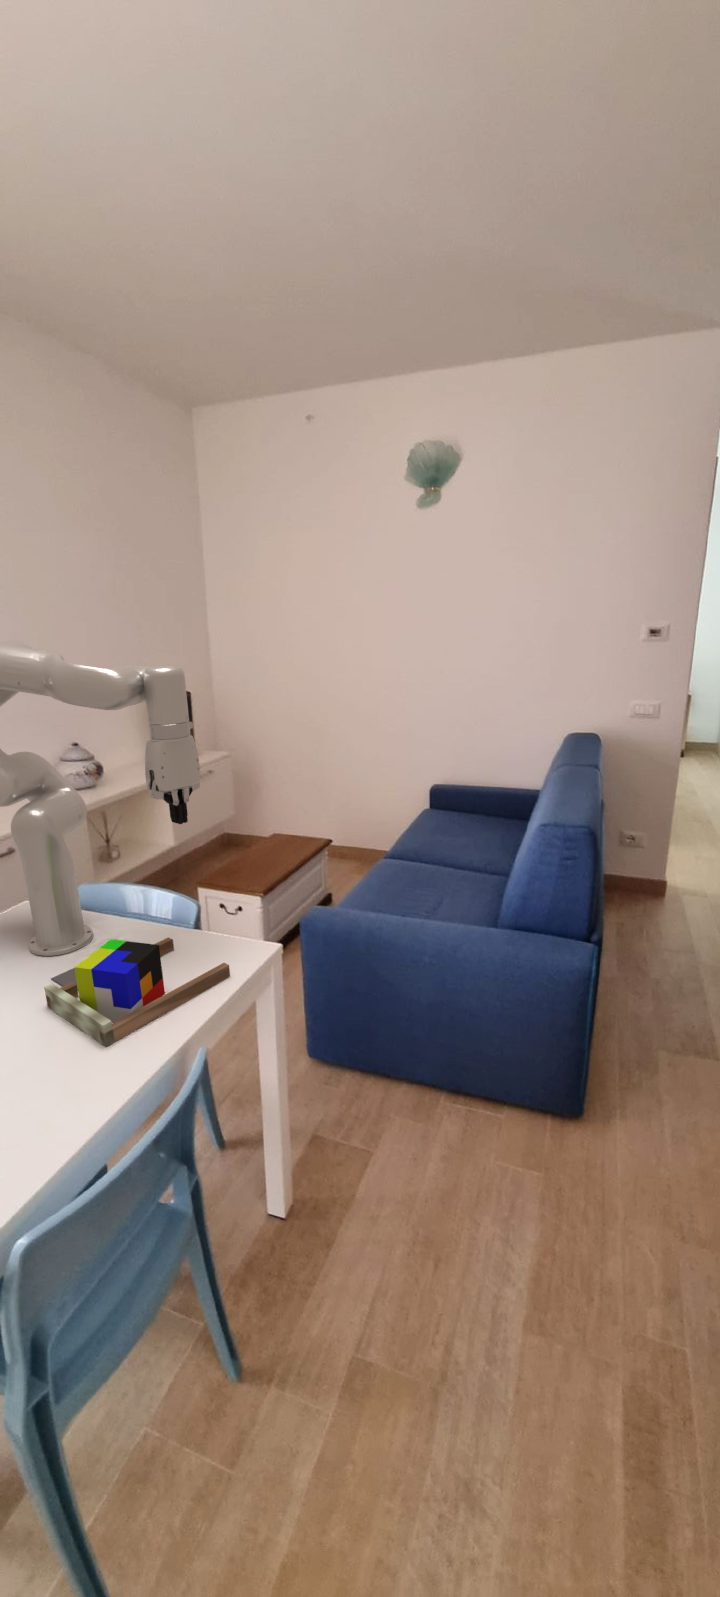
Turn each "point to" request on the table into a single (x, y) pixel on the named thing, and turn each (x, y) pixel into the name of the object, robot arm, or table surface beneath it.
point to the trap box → (111, 1032)
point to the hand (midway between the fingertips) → (179, 822)
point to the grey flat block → (65, 978)
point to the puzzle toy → (120, 978)
